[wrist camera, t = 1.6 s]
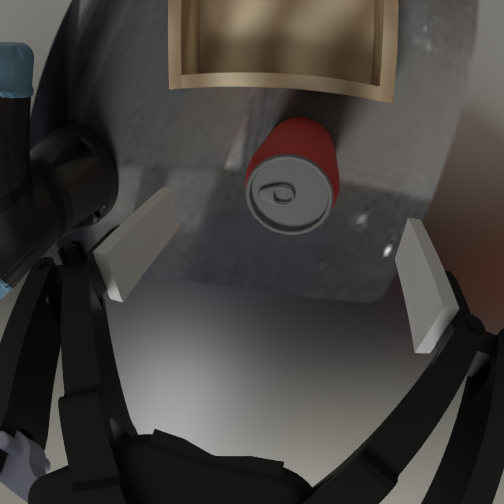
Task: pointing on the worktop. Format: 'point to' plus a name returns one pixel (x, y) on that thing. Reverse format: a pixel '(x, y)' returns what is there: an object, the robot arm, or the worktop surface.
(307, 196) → the beer can
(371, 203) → the worktop surface
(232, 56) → the crate
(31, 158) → the robot arm
